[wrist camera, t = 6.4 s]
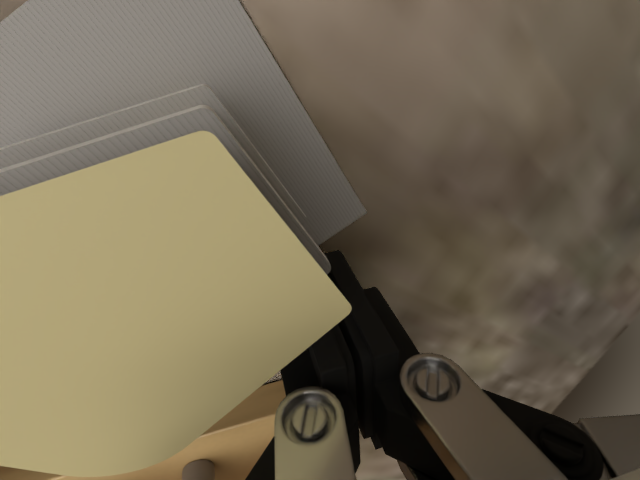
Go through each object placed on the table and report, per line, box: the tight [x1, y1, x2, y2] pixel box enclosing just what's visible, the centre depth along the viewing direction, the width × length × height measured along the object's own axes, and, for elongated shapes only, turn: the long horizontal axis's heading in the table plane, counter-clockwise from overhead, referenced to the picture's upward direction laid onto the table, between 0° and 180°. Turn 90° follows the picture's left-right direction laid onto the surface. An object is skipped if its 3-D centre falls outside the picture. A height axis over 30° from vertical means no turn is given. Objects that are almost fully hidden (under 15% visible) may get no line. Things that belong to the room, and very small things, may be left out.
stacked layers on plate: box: [0, 0, 367, 477], centre depth 8 cm, size 10×9×6 cm
